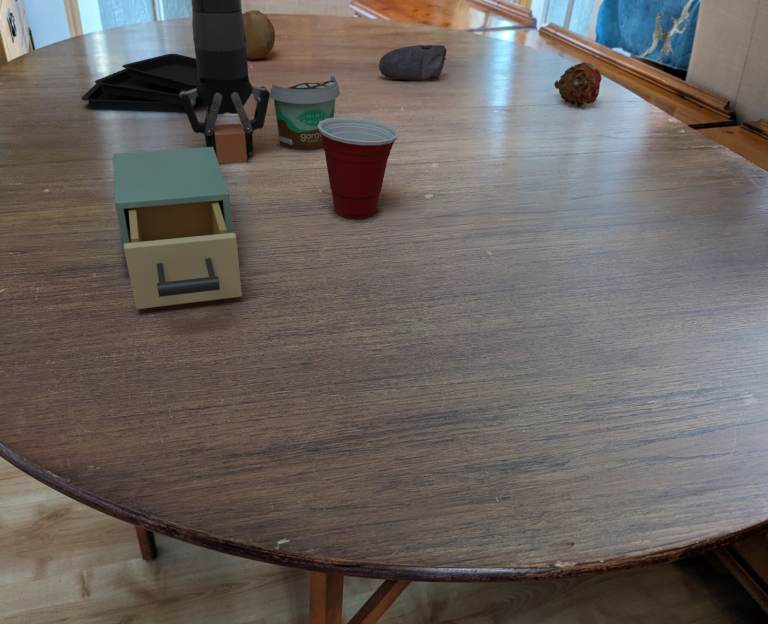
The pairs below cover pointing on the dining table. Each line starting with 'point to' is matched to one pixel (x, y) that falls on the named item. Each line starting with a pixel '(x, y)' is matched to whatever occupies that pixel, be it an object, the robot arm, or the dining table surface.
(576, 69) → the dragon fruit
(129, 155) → the cabinet
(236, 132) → the block
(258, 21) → the brown oval lump
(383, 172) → the plastic cup
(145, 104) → the tray
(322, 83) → the food container
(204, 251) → the drawer
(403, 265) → the dining table surface
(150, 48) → the dining table surface
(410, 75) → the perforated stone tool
